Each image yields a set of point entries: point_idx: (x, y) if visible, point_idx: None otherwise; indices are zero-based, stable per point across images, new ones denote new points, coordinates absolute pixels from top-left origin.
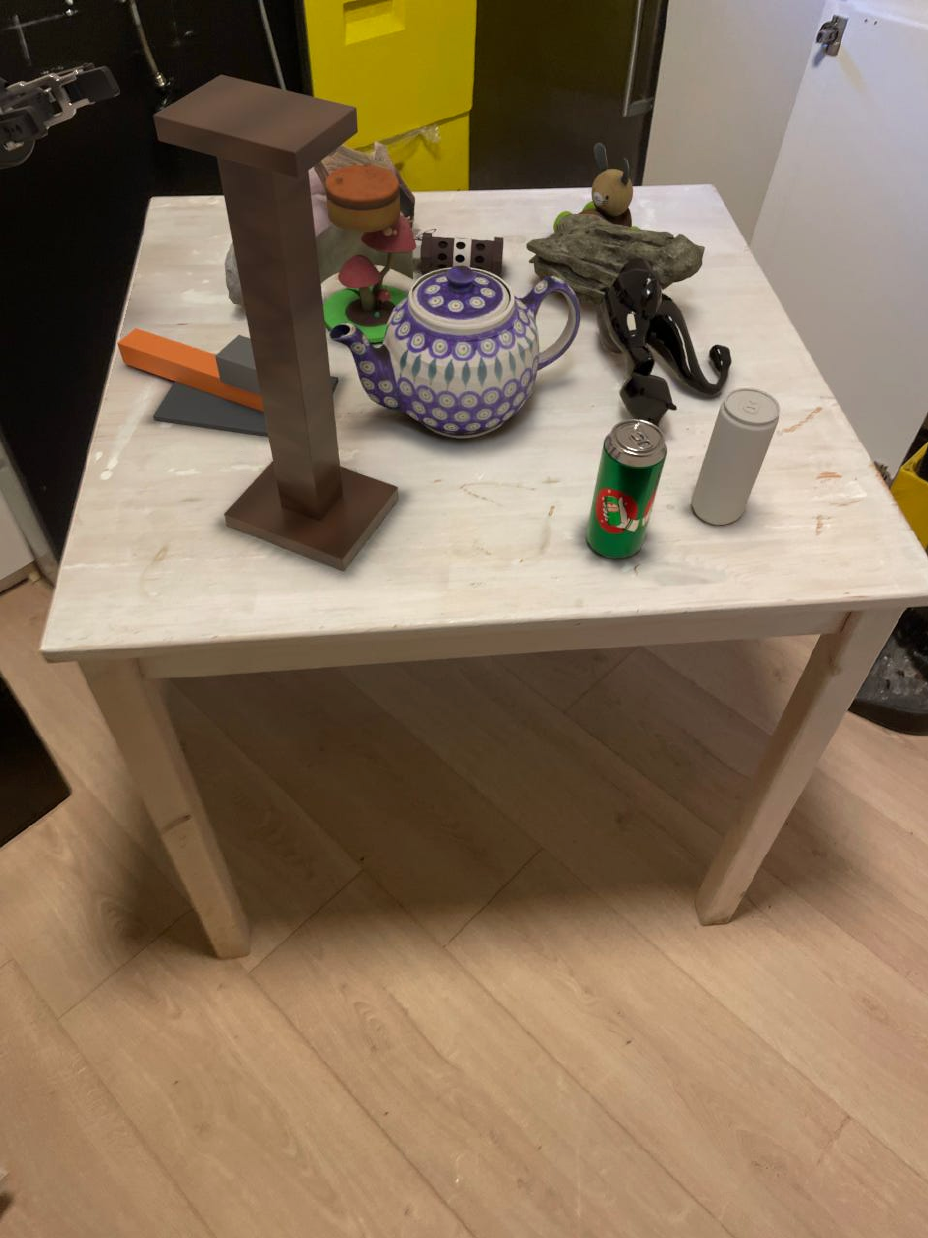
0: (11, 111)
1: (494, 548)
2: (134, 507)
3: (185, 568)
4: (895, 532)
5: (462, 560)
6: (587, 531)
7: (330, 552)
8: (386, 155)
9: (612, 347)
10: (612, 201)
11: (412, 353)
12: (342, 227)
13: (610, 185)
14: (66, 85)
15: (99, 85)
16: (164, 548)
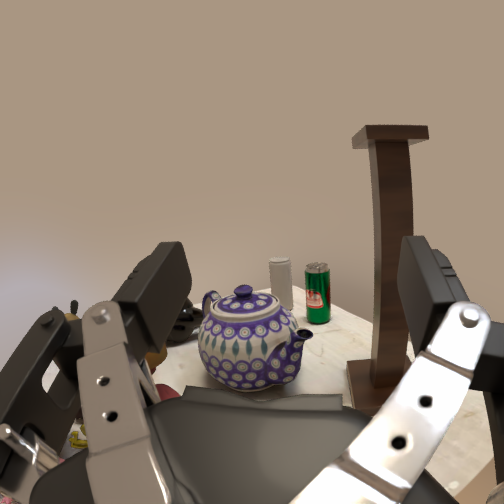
0: (435, 276)
1: (349, 338)
2: (459, 449)
3: (464, 401)
4: (270, 288)
5: (364, 342)
6: (324, 318)
7: (408, 359)
8: None
9: (191, 332)
10: None
11: (290, 324)
12: (162, 360)
13: (74, 318)
14: (34, 422)
15: (175, 284)
16: (465, 416)
